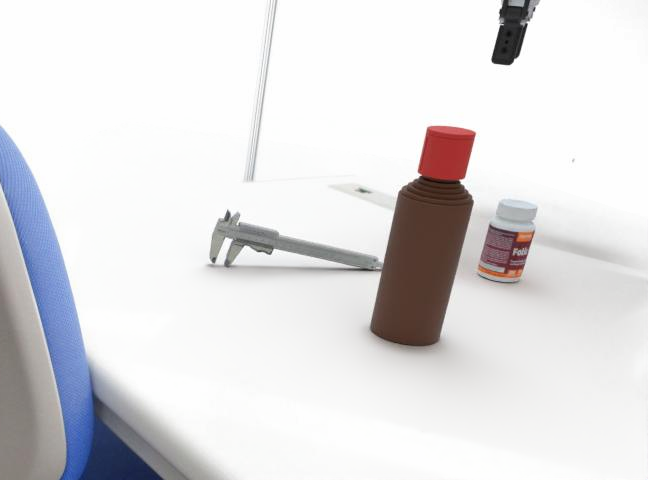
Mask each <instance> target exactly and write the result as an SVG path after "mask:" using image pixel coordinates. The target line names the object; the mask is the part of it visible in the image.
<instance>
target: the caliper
mask: <svg viewBox="0 0 648 480" xmlns="http://www.w3.org/2000/svg"><path fill="white" fill-rule="evenodd" d="M240 218H241V213H240V212H239V211H236V212H235V213H234V214H233V215H232V213H231V211H230V210H229V209H228V208H227V209H226V213H225V214H224V217H223V218H222V217H218V219H217V221H216V224H215V227H214V228H213V231H212V234H211V240H210V249H209V260H210V262H211V263H212V264H214V265H215V264H216V262H217V260H218V257H219V254H220V252H221V249H222V246H223V244H224V242H225V239H226V238H227V239H228V240H229V239H230V240H231V242H230V244H229V247H228V250H227V252H226V254H225V259H224V262H223V263H224V266H225V267H230V266H231V265H232V264H233V263H234V261H235V259H236V258H237V257H238V256H239V254H240V253H241V251H242V250H243V249H244V247H245V246H246V247H249V248H250V249H251V250H253V251H255V252H256V253H264V254H266V255H268V256H271V255H272V254H273V252H274V250H279V251H283V252H287V253H292V254H297V255H302V256H305V257H310V258H316V259H319V260H325V261H328V262H334V263H338V264H342V265H347V266H350V267H355V268H360V269H364V270H369V271H375V270H376V268H380V269H382V267H383V263H384V261H379V258H378V257H377V256H375V255H372V254H368V253H364V252H359V251H353V250H350V249H345V248H341V247H336V246H333V245H327V244H323V243H319V242H314V241H309V240H305V239H300V238H296V237H292V236H287V235H282V234H280V232H279V231H278V230H277V229H274V228H269V227H266V226H265V227H264V226H260V225H256V224H252V223H249V222H244V221H239V220H240Z"/></svg>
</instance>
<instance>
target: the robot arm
mask: <svg viewBox="0 0 648 480" xmlns="http://www.w3.org/2000/svg"><path fill="white" fill-rule="evenodd" d="M540 1H541V0H500V4H501V8H499V10H498V21H499V22H498V25H499V26H498V32H497V34H496V38H495V43H494V46H493V50H492V55H491V59H490V61H491V63H492V64H493V65H499V66H511V65H512V64H513V63H514V62H515V60H516V59H518V58H519V57H520V55H521V51H522V47H523V44H524V40H525V38H526V33H527V29H528V26H529V23H530V22H531V19H533V17H534V13H535V12H536V8H537V6H539V5H540Z"/></svg>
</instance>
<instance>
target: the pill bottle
mask: <svg viewBox="0 0 648 480" xmlns="http://www.w3.org/2000/svg"><path fill="white" fill-rule="evenodd" d="M538 208H539V206H538V205H537V204H535V203H532V202H529V201H526V200H520V199H513V198H512V199H511V198H503V199H500V200H499V201H498V204H497V207H496V212H495V214H496V215H495V216H492V218H491V219H490V220H489V223H488V227H487V232H486V235H485V239H484V242H483V247H482V249H481V250H482V251H481V254H480V258H479V261H478V265H477V270H476V272H477V274H478V275H479V276H481V277H483V278H485V279H488V280H490V281H495V282H500V283H514V282H519V281H520V280H521V278H522V275H523V272H524V268H525V266H526V263H527V258H528V255H529V252H530V249H531V246H532V242H533V238H534V235H535V233H536V224H535V223H534V222H533V221H534V220H535V219H536V216H537V212H538Z"/></svg>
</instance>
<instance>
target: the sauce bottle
mask: <svg viewBox="0 0 648 480" xmlns="http://www.w3.org/2000/svg"><path fill="white" fill-rule="evenodd" d="M474 204H475V201H474V199H473V195H472V194H471V193H470V192H469V190H468V189H467V188H466V187H465V185H464V184H462V181H461V180H442V179H435V178H430V177H426V176H423V175H421V174H420V175H419V176H418V178H417V177H416V178H414V179H413V180H412V181H409V182H408V183H407V184H405V185H403V186H402V187H401V189H399V191H398V193H397V197H396V201H395V207H394V211H393V216H392V221H391V225H390V230H389V234H388V240H387V244H386V249H385V253H384V259H383V267H382V268H381V273H380V278H379V281H378V287H377V291H376V297H375V301H374V306H373V310H372V314H371V319H370V323H369V324H370V325H369V328H370V330H371V332H372V333H374V335H376V336H378V337H379V338H382V339H384V340H387V341H389V342H393V343H395V344H396V343H397V344H401V343H402V344H401V345H406V344H407V346H429V345H434V344H435V343H437V342H438V341H439V340H440V338H441V335H442V334H441V333H442V329H443V326H444V322H445V318H446V314H447V310H448V306H449V302H450V298H451V295H452V291H453V287H454V282H455V279H456V274H457V271H458V267H459V264H460V263H459V262H460V259H461V255H462V251H463V247H464V244H465V239H466V236H467V231H468V227H469V224H470V219H471V216H472V211H473V208H474Z"/></svg>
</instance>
